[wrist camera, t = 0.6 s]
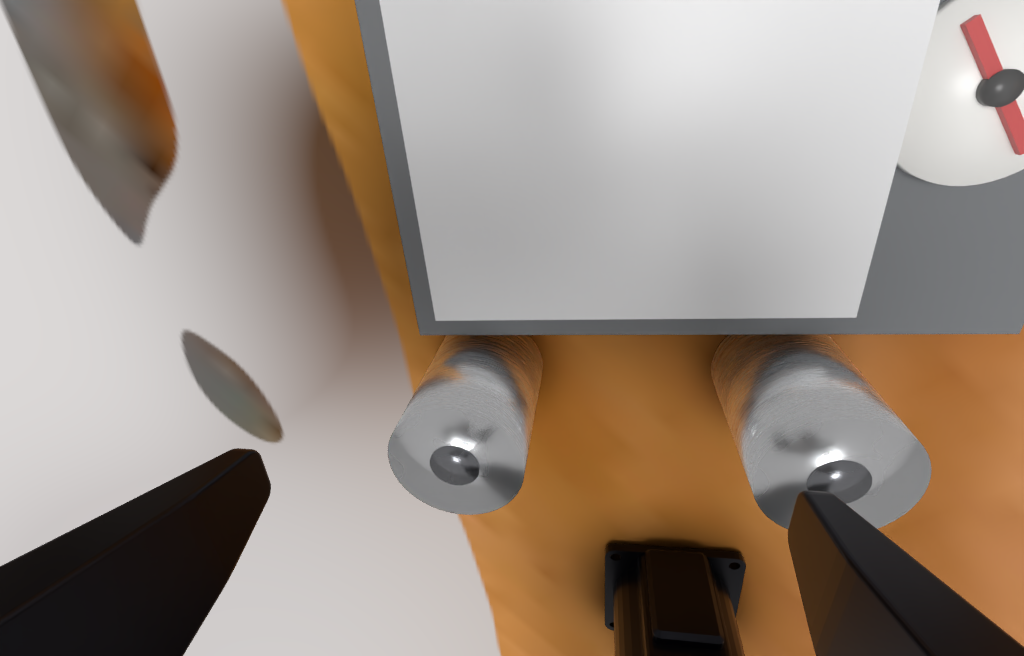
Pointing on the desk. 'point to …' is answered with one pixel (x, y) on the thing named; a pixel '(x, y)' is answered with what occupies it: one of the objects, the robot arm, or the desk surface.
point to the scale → (705, 164)
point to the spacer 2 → (815, 427)
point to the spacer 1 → (469, 424)
